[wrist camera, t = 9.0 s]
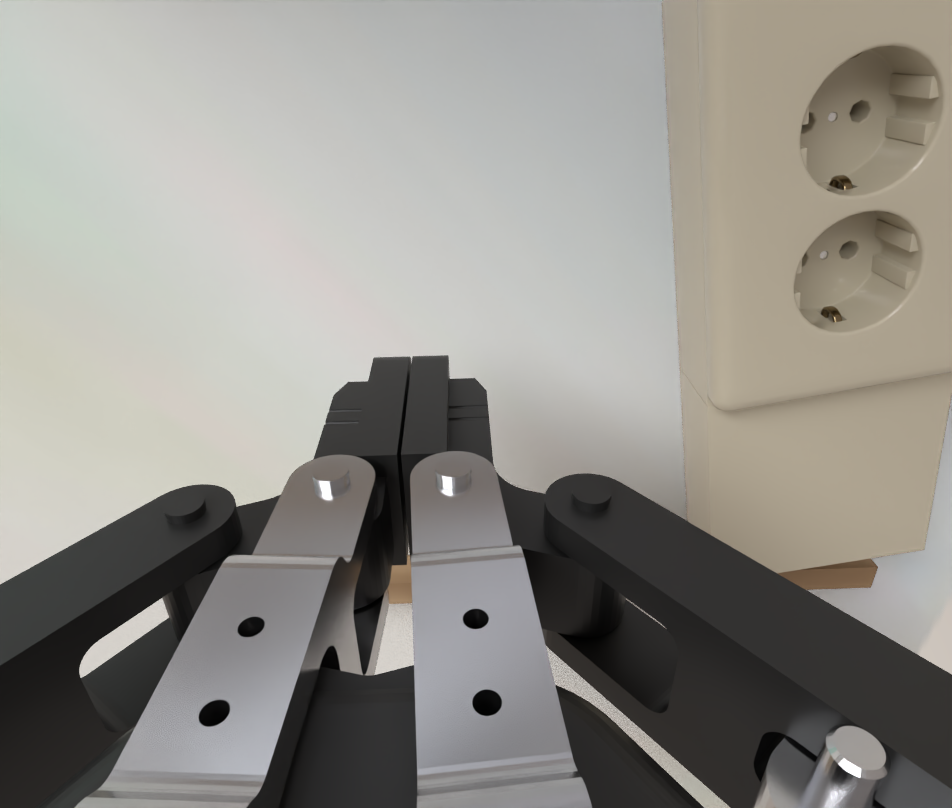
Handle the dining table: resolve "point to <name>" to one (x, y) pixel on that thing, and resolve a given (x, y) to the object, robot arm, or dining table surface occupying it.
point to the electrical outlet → (812, 270)
